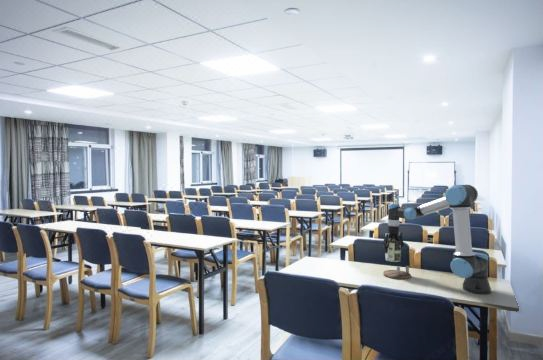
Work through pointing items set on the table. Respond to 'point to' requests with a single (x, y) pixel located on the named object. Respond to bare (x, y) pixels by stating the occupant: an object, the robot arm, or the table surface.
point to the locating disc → (397, 273)
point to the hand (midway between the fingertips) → (393, 256)
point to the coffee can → (394, 250)
